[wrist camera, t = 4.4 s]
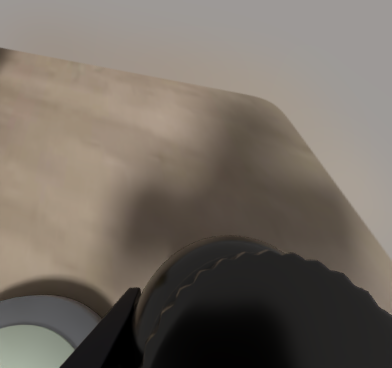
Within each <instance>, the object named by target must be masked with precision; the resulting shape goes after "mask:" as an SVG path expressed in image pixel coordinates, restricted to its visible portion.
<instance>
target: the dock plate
mask: <svg viewBox="0 0 392 368" xmlns="http://www.w3.org/2000/svg"><path fill="white" fill-rule="evenodd" d="M101 320H102V318H101V317H100V316H99V315H98V314H97V313H95V312H94V311H93V310H92V309H90V308H89V307H88V306H86V305H84V304H82V303H80V302H79V301H76V300H73V299H70V298H67V297H62V296H57V295H33V296H23V297H15V298H11V299H7V300H3V301H0V368H59V367H60V366H61V365H62V364H63V363H64V362H65V361H66V359H67V358H68V357H69V356H70V355H71V354H72V353H73V351H74V350H75V349H76V348H77V347H78V346H79V345H80V343H81V342H82V341H83V340H84V339H85V338H86V337H87V336H88V334H89V333H90V332H91V331H92V330H93V329H94V328H95V326H96V325H97V324H98V323H99V322H100V321H101Z"/></svg>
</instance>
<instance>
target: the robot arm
mask: <svg viewBox="0 0 392 368" xmlns="http://www.w3.org/2000/svg"><path fill="white" fill-rule="evenodd" d="M140 296H141V290H140V288H129V289H128V290H127V291H126V292H125V294H124V295H123V296H122V297H121V298H120V299H119V300H118V301H117V303H116V304H115V305H114V306H113V307H112V308H111V309H110V311H109V312H108V313H107V314H106V315H105V316H104V317H103V318H102V320H101V321H100V322H99V323H98V324H97V325H96V326H95V328H94V329H93V330H92V331H91V332H90V333H89V334H88V336H87V337H86V338H85V339H84V340H83V341H82V342H81V343H80V345H79V346H78V347H77V348H76V349H75V350H74V351H73V353H72V354H71V355H70V356H69V357H68V358H67V359H66V361H65V362H64V363H63V364H62V365H61V366H60V367H59V368H123V360H124V349H125V343H126V337H127V332H128V328H129V324H130V321H131V318H132V315H133V312H134V309H135V307H136V304H137V302H138V300H139V297H140Z"/></svg>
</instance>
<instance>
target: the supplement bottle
mask: <svg viewBox="0 0 392 368" xmlns="http://www.w3.org/2000/svg"><path fill="white" fill-rule="evenodd" d="M123 368H392V315H390V314H389V313H388V312H386V311H385V310H383V309H381V308H380V307H379V306H378V305H377V303H376V302H375V300H374V299H373V298H372V296H371V295H370V294H369V292H368V291H366V290H364V289H362V288H359V287H357V286H355V285H354V284H353V283H352V282H351V281H350V280H349V278H348V277H346V276H345V275H344V274H343V273H340V272H337V271H331V270H329V269H328V268H327V267H326V266H325V265H324V264H322V263H321V262H319V261H318V260H305V259H303V258H302V257H300V256H298V255H297V254H295V253H291V252H289V253H284V252H282V251H281V250H279V249H277V248H276V247H274V246H272V245H269V244H267V243H265V242H262V241H259V240H256V239H253V238H249V237H243V236H234V235H224V236H215V237H210V238H206V239H202V240H199V241H197V242H194V243H192V244H190V245H188V246H186V247H184V248H183V249H181V250H179V251H178V252H177V253H175V254H174V255H172V256H171V257H170V258H169V259H168V260H167V261H166V262H164V263H163V265H162V266H161V267H160V268H159V269H158V270H157V271H156V272H155V274H154V275H153V276H152V278H151V279H150V280H149V282H148V283H147V285H146V287H145V288H144V290H143V292H142V294H141V296H140V297H139V300H138V302H137V304H136V307H135V309H134V312H133V315H132V318H131V321H130V324H129V328H128V332H127V337H126V343H125V349H124V360H123Z"/></svg>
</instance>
